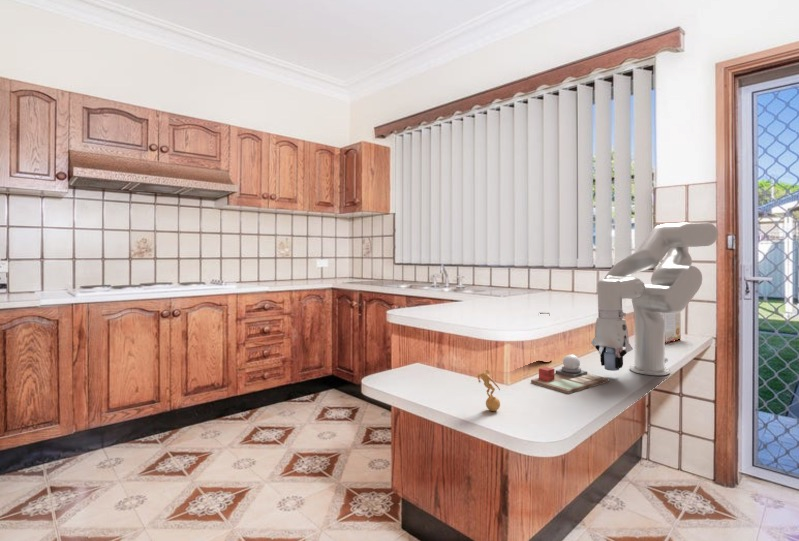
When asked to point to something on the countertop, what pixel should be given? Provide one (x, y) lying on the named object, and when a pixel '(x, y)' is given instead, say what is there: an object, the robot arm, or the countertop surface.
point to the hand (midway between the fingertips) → (611, 365)
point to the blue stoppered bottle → (610, 359)
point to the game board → (567, 380)
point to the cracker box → (672, 326)
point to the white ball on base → (571, 364)
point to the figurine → (492, 401)
